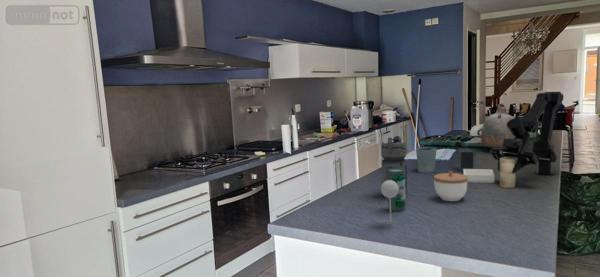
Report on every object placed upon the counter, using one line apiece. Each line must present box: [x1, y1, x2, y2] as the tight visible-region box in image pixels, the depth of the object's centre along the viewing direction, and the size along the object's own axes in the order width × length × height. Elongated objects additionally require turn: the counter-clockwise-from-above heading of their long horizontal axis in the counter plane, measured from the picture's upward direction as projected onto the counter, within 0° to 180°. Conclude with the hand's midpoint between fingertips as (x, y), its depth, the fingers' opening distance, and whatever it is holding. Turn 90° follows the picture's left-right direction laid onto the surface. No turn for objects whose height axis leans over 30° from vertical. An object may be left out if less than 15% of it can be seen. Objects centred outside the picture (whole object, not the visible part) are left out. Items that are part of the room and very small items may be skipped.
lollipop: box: [380, 180, 399, 225], centre depth 139 cm, size 6×6×15 cm
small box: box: [457, 148, 474, 173], centre depth 214 cm, size 11×6×10 cm, turn 168°
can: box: [387, 168, 407, 212], centre depth 155 cm, size 6×6×15 cm
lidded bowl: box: [433, 171, 468, 202], centre depth 164 cm, size 13×13×11 cm
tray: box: [462, 168, 495, 184], centre depth 193 cm, size 13×13×4 cm
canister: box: [499, 157, 517, 189], centre depth 179 cm, size 6×6×12 cm
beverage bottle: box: [380, 135, 408, 196], centre depth 174 cm, size 10×13×25 cm
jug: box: [476, 102, 515, 151], centre depth 259 cm, size 24×21×30 cm
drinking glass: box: [415, 146, 437, 174], centre depth 216 cm, size 10×10×12 cm
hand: (505, 171), depth 178 cm, fingers closed on canister, 6 cm apart
